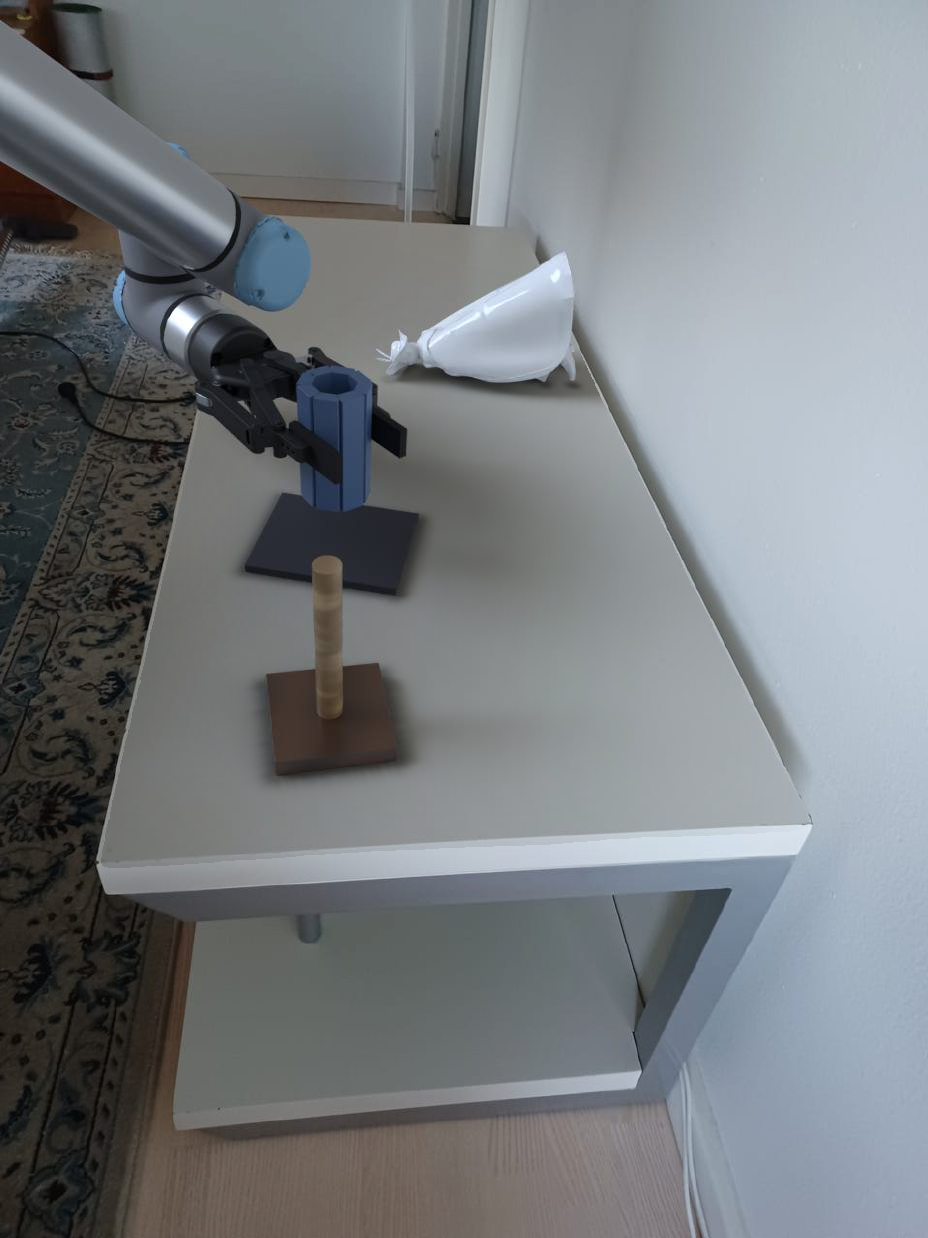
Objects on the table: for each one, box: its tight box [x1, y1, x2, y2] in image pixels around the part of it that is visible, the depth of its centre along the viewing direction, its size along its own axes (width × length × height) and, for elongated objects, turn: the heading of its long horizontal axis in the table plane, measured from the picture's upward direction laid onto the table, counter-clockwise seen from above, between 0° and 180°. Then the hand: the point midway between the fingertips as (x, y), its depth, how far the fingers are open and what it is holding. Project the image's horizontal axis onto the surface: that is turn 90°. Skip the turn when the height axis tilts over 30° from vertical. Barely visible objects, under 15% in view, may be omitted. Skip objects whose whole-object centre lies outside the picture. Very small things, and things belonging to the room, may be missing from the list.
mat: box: [244, 492, 420, 596], centre depth 86 cm, size 14×12×1 cm
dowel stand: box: [265, 555, 399, 776], centre depth 65 cm, size 9×9×16 cm
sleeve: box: [296, 366, 373, 512], centre depth 79 cm, size 6×6×11 cm
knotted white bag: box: [375, 251, 577, 383], centre depth 111 cm, size 14×16×25 cm
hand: (371, 456), depth 76 cm, fingers closed on sleeve, 6 cm apart
